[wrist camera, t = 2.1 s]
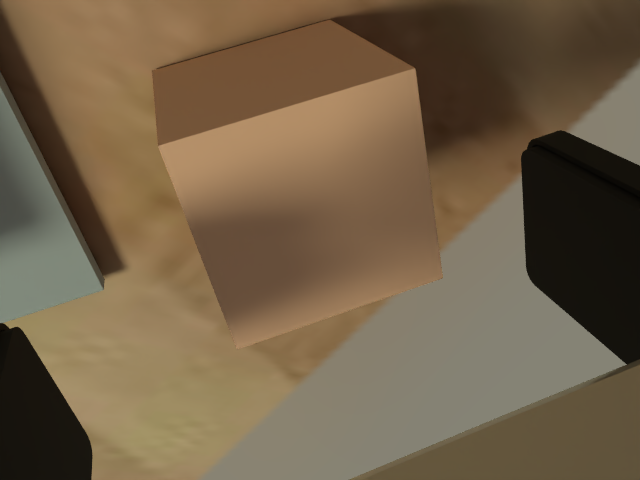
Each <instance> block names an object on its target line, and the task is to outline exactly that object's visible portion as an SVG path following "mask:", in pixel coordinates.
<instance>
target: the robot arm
mask: <svg viewBox="0 0 640 480" xmlns="http://www.w3.org/2000/svg"><path fill="white" fill-rule="evenodd" d="M521 166H522V187H523V209H524V231H525V252H526V269H527V273H528V276H529V278H530V280H531V281H532V283H533V284H534V285H535V286H536V287H537V288H539V289H540V290H541V291H542V292H543V293H544V294H546V295H547V296H548V297H549V298H550V299H551V300H553V301H554V302H555V303H556V304H557V305H559V307H561V308H562V309H563V310H565V312H566V313H568V314H569V315H570V316H571V317H572V318H574V319H575V320H576V321H577V322H578V323H579V324H581V325H582V326H583V327H584V328H585V329H586V330H587V331H589V332H590V333H591V334H592V335H593V336H594V337H596V338H597V339H598V340H599V341H600V342H601V343H602V344H604V345H605V346H606V347H607V348H608V349H609V350H611V351H612V352H613V353H614V354H615V355H617V356H618V357H619V358H620V359H621V360H622V361H623V362H625V363H626V364H627V365H625V366H622V367H620V368H617V369H615V370H613V371H610V372H608V373H606V374H603V375H601V376H598V377H596V378H593V379H591V380H588V381H586V382H583V383H581V384H579V385H576V386H574V387H571V388H569V389H566V390H564V391H562V392H559V393H557V394H554V395H552V396H549V397H547V398H544V399H542V400H539V401H537V402H535V403H533V404H530V405H527V406H525V407H522V408H520V409H518V410H515V411H513V412H510V413H508V414H506V415H503V416H501V417H498V418H496V419H494V420H491V421H489V422H486V423H484V424H482V425H479V426H477V427H475V428H472V429H470V430H467V431H465V432H462V433H460V434H458V435H455V436H453V437H450V438H448V439H446V440H443V441H441V442H438V443H436V444H433V445H431V446H429V447H426V448H424V449H421V450H419V451H417V452H414V453H412V454H410V455H407V456H405V457H403V458H400V459H398V460H395V461H393V462H390V463H388V464H386V465H383V466H381V467H378V468H376V469H374V470H371V471H369V472H366V473H364V474H362V475H359V476H357V477H354V478H352V479H350V480H640V166H639V165H637V164H635V163H633V162H631V161H628V160H626V159H624V158H622V157H619V156H617V155H615V154H613V153H611V152H609V151H607V150H604V149H602V148H600V147H598V146H596V145H594V144H591V143H589V142H587V141H585V140H583V139H580V138H578V137H576V136H574V135H572V134H570V133H567V132H565V131H561V130H560V131H556V132H553V133H551V134H548V135H545V136H542V137H539V138H536V139H533V140H531V141H530V142H529V144H528V147H527V150H525V151H524V152H523V153H522V156H521ZM91 474H92V448H91V444H90V440H89V438H88V436H87V434H86V432H85V430H84V429H83V427H82V426H81V424H80V422H79V421H78V419H77V417H76V416H75V414H74V413H73V411H72V409H71V408H70V406H69V405H68V403H67V401H66V400H65V398H64V396H63V395H62V393H61V392H60V390H59V388H58V387H57V385H56V384H55V382H54V380H53V379H52V377H51V375H50V374H49V372H48V371H47V369H46V367H45V366H44V364H43V363H42V361H41V359H40V358H39V356H38V355H37V353H36V351H35V350H34V348H33V346H32V345H31V343H30V342H29V340H28V338H27V337H26V335H25V334H24V332H23V331H22V330H21V329H20V328H19V327H14V328H11V329H9V327H7V326H6V325H5V324H3V323H0V480H91Z"/></svg>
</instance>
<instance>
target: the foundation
mask: <svg viewBox="0 0 640 480" xmlns="http://www.w3.org/2000/svg"><path fill="white" fill-rule="evenodd" d="M104 280H105V279H104V277H103V275H102V273H101V271H100V269H99V267H98V265H97V263H96V261H95V259H94V257H93V255H92V253H91V251H90V249H89V247H88V245H87V243H86V241H85V239H84V237H83V235H82V233H81V231H80V229H79V227H78V225H77V223H76V221H75V219H74V217H73V215H72V213H71V211H70V209H69V207H68V205H67V203H66V201H65V199H64V197H63V195H62V194H61V192H60V190H59V188H58V186H57V184H56V182H55V180H54V178H53V176H52V174H51V172H50V170H49V168H48V166H47V164H46V162H45V160H44V158H43V156H42V154H41V152H40V150H39V148H38V146H37V144H36V142H35V140H34V138H33V136H32V134H31V132H30V130H29V128H28V126H27V124H26V122H25V120H24V118H23V116H22V114H21V112H20V110H19V108H18V106H17V104H16V102H15V100H14V98H13V96H12V94H11V92H10V90H9V88H8V86H7V84H6V82H5V80H4V78H3V76H2V74H1V72H0V323H4V322H7V321H10V320H13V319H16V318H19V317H22V316H25V315H28V314H31V313H35V312H38V311H41V310H44V309H47V308H50V307H53V306H56V305H59V304H62V303H65V302H68V301H71V300H74V299H77V298H80V297H84V296H87V295H90V294H93V293H96V292H99V291H102V290H104Z"/></svg>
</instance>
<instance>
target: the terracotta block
mask: <svg viewBox="0 0 640 480" xmlns="http://www.w3.org/2000/svg"><path fill="white" fill-rule="evenodd" d="M152 76H153V88H154V101H155V114H156V126H157V139H158V147H159V150H160V152H161V155H162V157H163V160H164V163H165V165H166V168H167V170H168V173H169V175H170V178H171V181H172V183H173V186H174V188H175V191H176V194H177V196H178V199H179V201H180V204H181V206H182V209H183V212H184V214H185V217H186V219H187V222H188V224H189V227H190V230H191V232H192V235H193V237H194V240H195V243H196V245H197V248H198V250H199V253H200V255H201V258H202V261H203V263H204V266H205V268H206V271H207V273H208V276H209V279H210V281H211V284H212V286H213V289H214V292H215V294H216V297H217V299H218V302H219V304H220V307H221V310H222V312H223V315H224V317H225V320H226V322H227V325H228V328H229V330H230V333H231V335H232V338H233V341H234V343H235V346H236V348H237V349H240V348H243V347H246V346H249V345H252V344H255V343H257V342H260V341H263V340H266V339H269V338H272V337H275V336H278V335H280V334H283V333H286V332H289V331H292V330H295V329H298V328H301V327H303V326H306V325H309V324H312V323H315V322H318V321H321V320H324V319H326V318H329V317H332V316H335V315H338V314H341V313H344V312H347V311H350V310H352V309H355V308H358V307H361V306H364V305H367V304H370V303H373V302H375V301H378V300H381V299H384V298H387V297H390V296H393V295H396V294H398V293H401V292H404V291H407V290H410V289H413V288H416V287H418V286H421V285H424V284H427V283H430V282H433V281H436V280H439V279H442V278H443V274H442V267H441V259H440V252H439V244H438V236H437V229H436V221H435V214H434V206H433V199H432V191H431V183H430V176H429V168H428V161H427V153H426V146H425V138H424V130H423V123H422V115H421V108H420V100H419V93H418V85H417V77H416V70H415V68H414V67H412V66H411V65H409V64H407V63H405V62H404V61H402V60H400V59H398V58H397V57H395V56H393V55H391V54H390V53H388V52H386V51H384V50H383V49H381V48H379V47H377V46H375V45H374V44H372V43H370V42H368V41H367V40H365V39H363V38H361V37H360V36H358V35H356V34H354V33H353V32H351V31H349V30H347V29H346V28H344V27H342V26H340V25H339V24H337V23H335V22H333V21H332V20H326V21H323V22H319V23H316V24H312V25H309V26H305V27H302V28H298V29H295V30H292V31H288V32H285V33H281V34H278V35H274V36H271V37H267V38H264V39H260V40H257V41H253V42H250V43H246V44H243V45H239V46H236V47H232V48H229V49H225V50H222V51H218V52H215V53H212V54H208V55H205V56H201V57H198V58H194V59H191V60H187V61H184V62H180V63H177V64H173V65H170V66H166V67H163V68H159V69H156V70H152Z"/></svg>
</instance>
